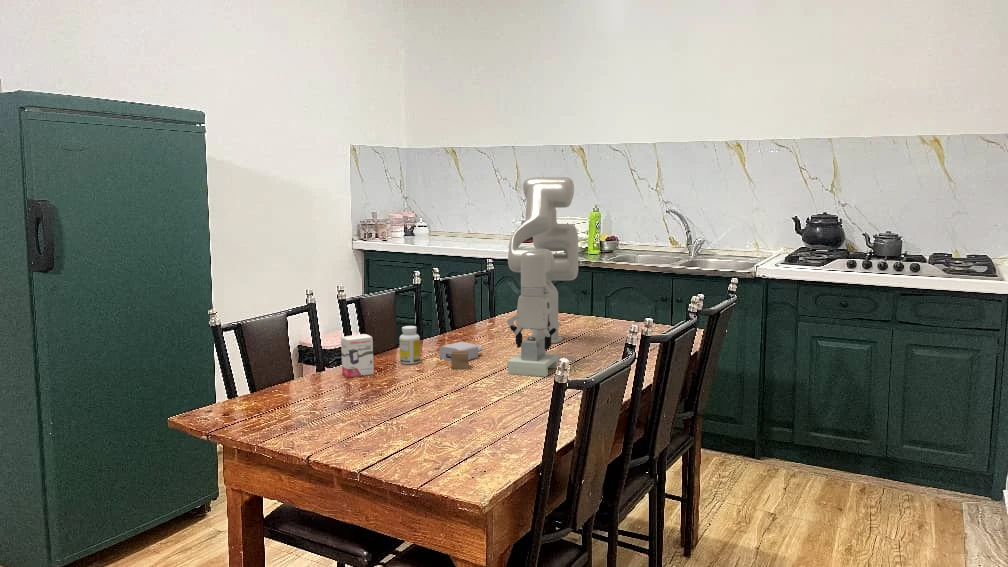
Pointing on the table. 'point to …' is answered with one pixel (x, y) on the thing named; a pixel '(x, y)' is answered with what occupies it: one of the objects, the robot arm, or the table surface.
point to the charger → (447, 349)
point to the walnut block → (459, 359)
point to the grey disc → (569, 358)
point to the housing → (533, 348)
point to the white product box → (357, 355)
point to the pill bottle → (409, 345)
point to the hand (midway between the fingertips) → (533, 347)
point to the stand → (532, 365)
